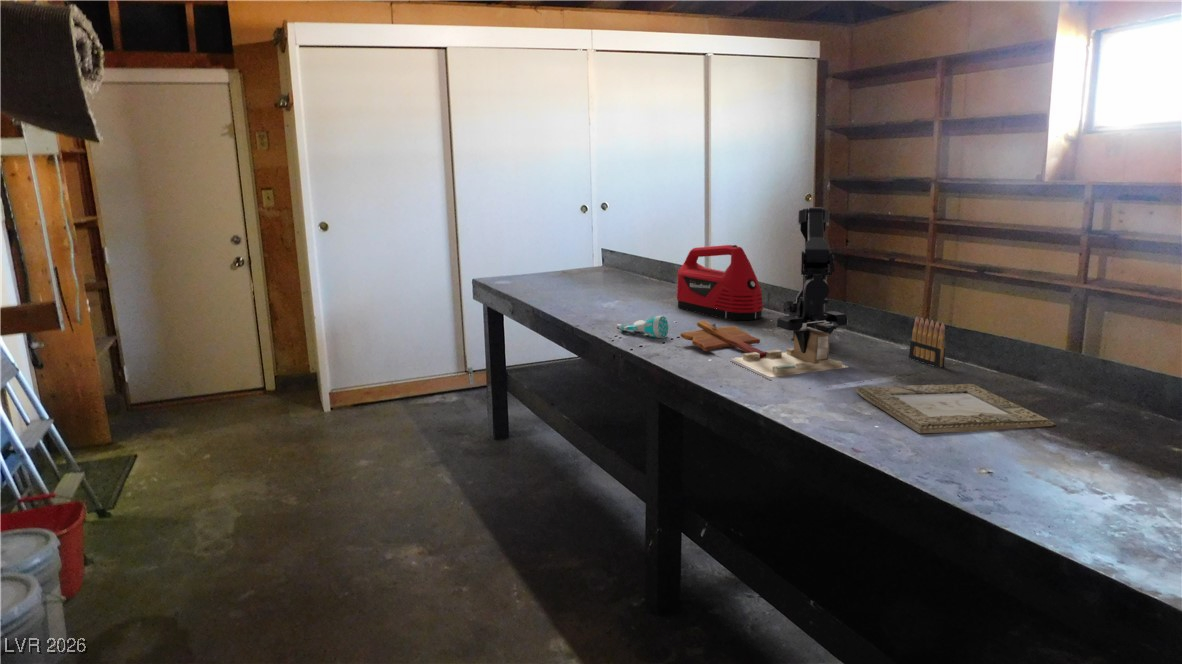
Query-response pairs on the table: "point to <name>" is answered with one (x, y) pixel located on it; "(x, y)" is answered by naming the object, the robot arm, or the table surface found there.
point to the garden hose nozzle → (649, 327)
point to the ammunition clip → (928, 343)
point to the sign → (721, 338)
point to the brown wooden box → (813, 347)
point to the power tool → (720, 285)
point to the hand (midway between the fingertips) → (810, 352)
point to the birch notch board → (783, 363)
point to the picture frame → (950, 408)
